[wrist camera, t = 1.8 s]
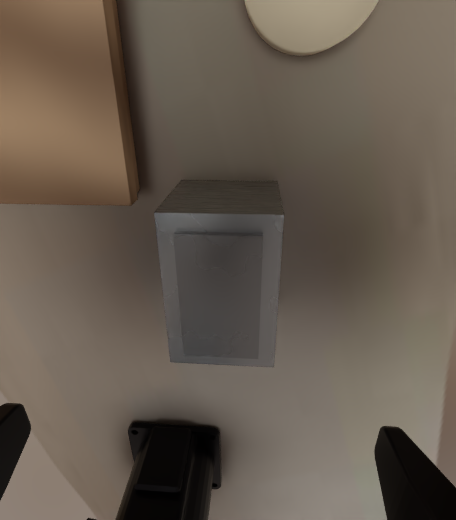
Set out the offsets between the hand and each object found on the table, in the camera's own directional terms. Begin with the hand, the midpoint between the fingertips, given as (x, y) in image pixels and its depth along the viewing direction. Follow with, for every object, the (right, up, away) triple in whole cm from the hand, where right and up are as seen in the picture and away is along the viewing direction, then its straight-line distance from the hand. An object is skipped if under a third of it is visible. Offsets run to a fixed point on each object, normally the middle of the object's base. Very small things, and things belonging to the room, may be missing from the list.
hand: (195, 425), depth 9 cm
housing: (+1, +5, +10) cm, 11 cm away
